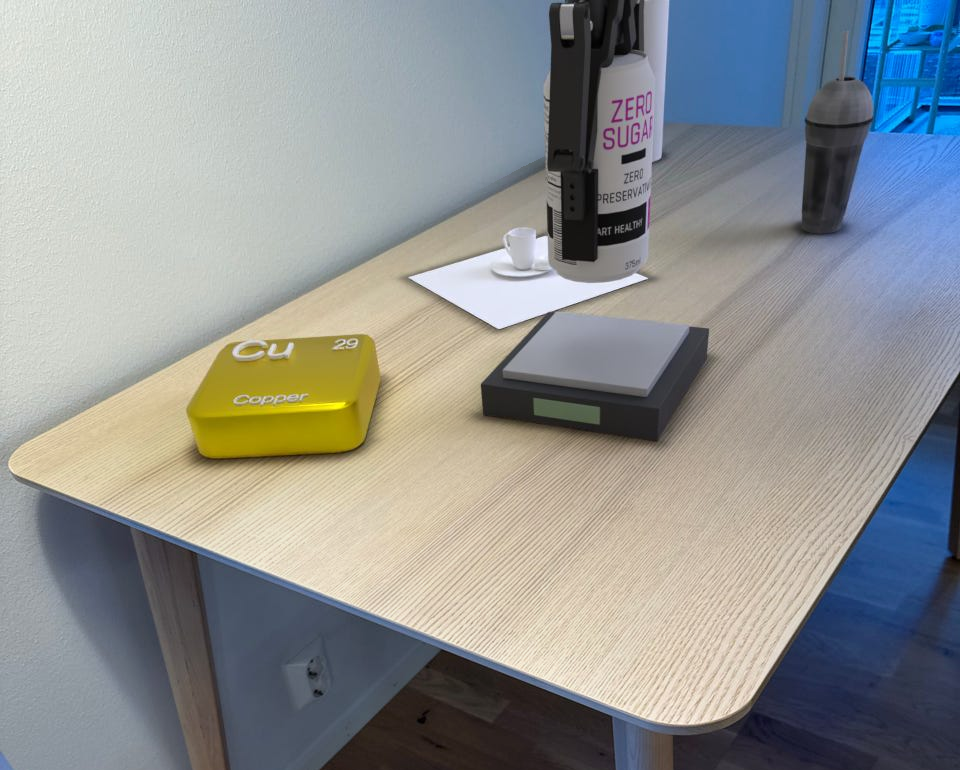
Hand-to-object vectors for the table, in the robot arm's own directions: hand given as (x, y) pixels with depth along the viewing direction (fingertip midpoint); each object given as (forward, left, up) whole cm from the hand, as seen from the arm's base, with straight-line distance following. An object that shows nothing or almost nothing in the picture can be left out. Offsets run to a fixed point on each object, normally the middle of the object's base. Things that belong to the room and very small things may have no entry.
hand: (598, 239), depth 74 cm
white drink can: (0, 0, -2) cm, 2 cm away
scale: (0, 0, -13) cm, 13 cm away
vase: (+21, -72, -13) cm, 76 cm away
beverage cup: (-12, -46, -13) cm, 49 cm away
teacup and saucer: (+17, -23, -13) cm, 31 cm away
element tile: (+25, +13, -13) cm, 31 cm away
